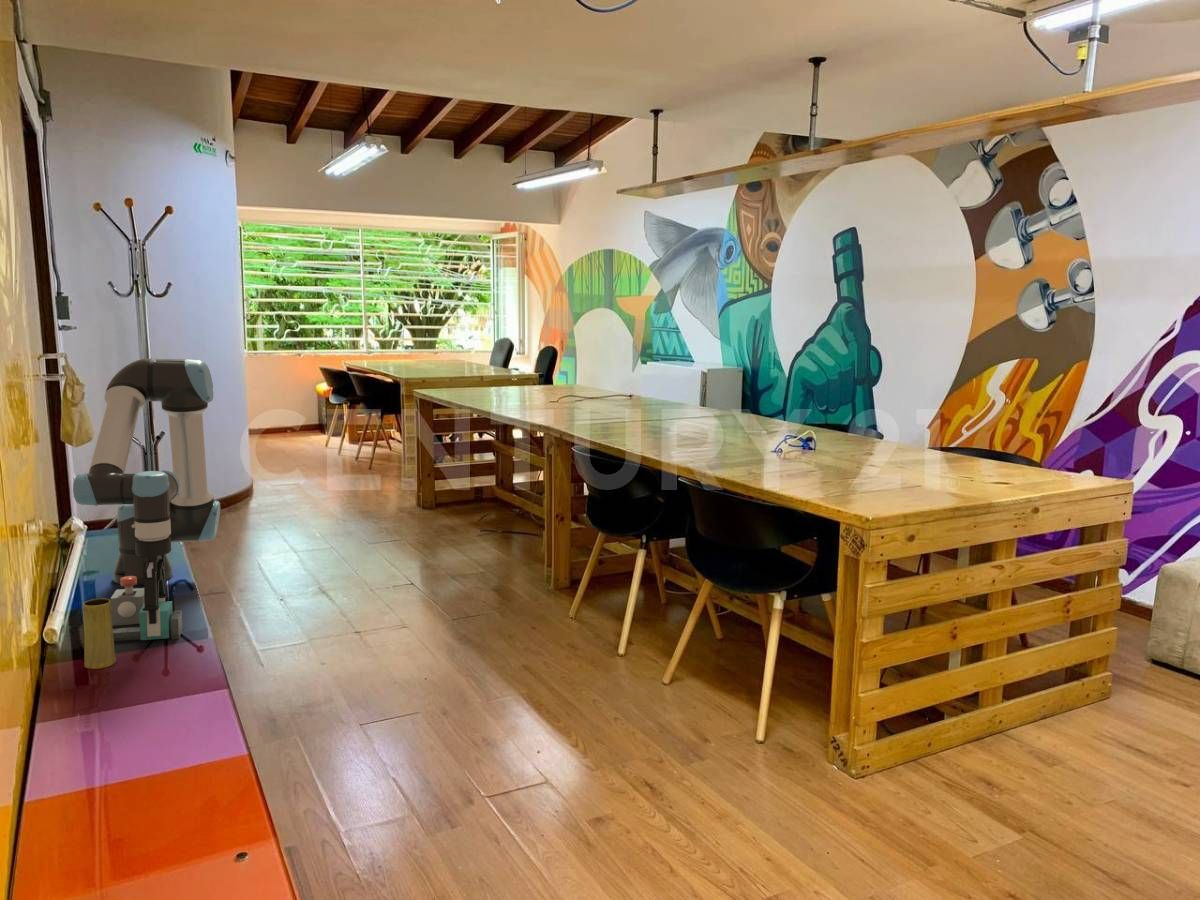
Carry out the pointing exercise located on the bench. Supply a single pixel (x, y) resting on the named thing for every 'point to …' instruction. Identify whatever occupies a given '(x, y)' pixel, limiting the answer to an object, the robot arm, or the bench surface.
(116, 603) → the grey cube housing
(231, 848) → the bench surface
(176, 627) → the rail
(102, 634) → the vase
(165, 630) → the block
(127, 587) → the red ball knob
